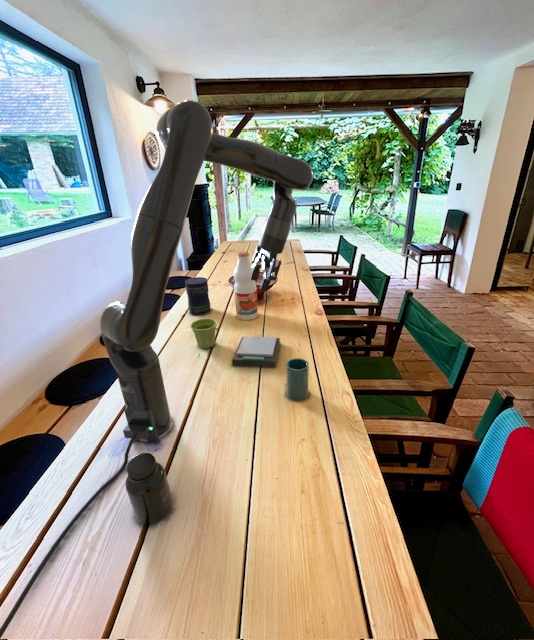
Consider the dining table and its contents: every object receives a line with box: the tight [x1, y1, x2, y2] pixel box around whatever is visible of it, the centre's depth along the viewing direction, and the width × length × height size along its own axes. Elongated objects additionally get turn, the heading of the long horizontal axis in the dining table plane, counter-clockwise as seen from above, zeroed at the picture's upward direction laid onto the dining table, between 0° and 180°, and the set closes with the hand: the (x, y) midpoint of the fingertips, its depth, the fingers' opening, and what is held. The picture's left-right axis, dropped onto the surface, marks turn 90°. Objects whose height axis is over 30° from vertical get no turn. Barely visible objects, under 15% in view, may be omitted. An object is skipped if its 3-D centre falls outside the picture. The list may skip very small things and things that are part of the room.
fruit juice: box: [232, 251, 259, 321], centre depth 136 cm, size 9×9×28 cm
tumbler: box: [285, 357, 310, 402], centre depth 88 cm, size 6×6×10 cm
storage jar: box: [184, 276, 212, 317], centre depth 146 cm, size 10×10×15 cm
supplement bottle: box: [125, 452, 173, 526], centre depth 58 cm, size 7×7×12 cm
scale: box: [231, 336, 281, 369], centre depth 111 cm, size 16×14×3 cm
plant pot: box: [190, 318, 218, 350], centre depth 117 cm, size 9×9×9 cm
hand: (258, 285), depth 99 cm, fingers open, 8 cm apart
